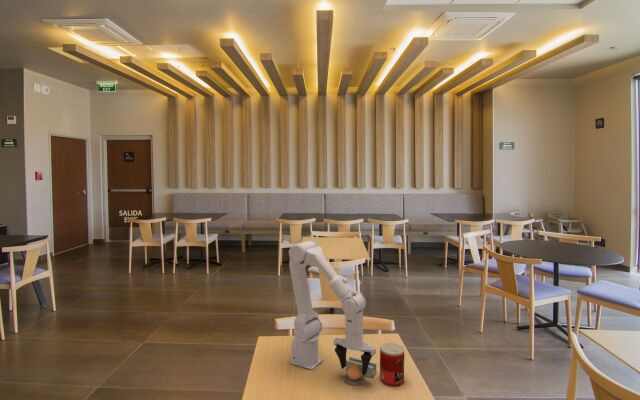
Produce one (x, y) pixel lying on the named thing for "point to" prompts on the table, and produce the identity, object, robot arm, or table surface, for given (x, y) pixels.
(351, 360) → the acrylic fence
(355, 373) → the ball
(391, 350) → the canned food
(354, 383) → the coaster
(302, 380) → the table surface
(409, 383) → the table surface
